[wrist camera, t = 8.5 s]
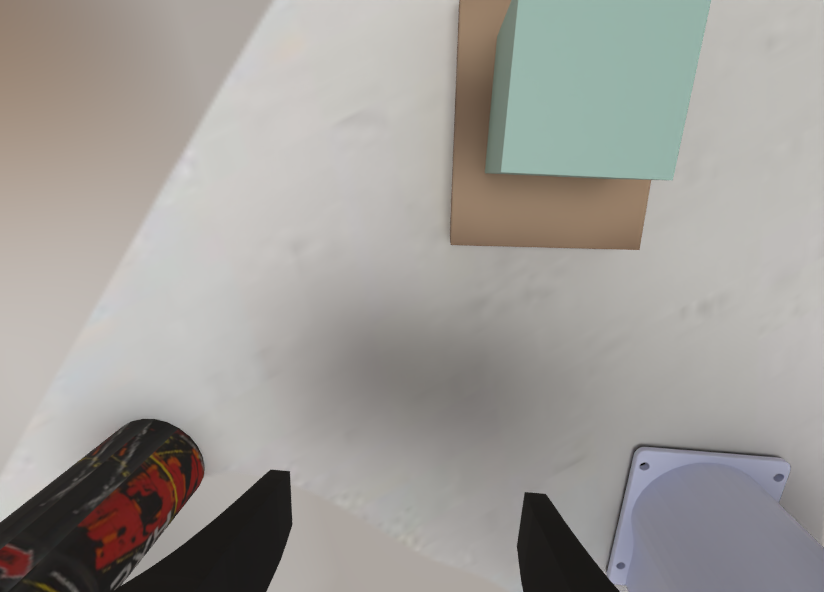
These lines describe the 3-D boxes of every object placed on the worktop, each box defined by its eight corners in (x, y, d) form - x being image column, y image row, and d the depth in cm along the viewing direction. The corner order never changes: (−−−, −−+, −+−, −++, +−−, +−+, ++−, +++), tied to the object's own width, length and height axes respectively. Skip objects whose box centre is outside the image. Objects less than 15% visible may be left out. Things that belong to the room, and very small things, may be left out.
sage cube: (607, 178, 17) (672, 180, 12) (484, 173, 17) (500, 172, 12) (631, 40, 16) (715, -20, 11) (497, 36, 16) (520, -24, 11)
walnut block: (612, 239, 21) (639, 249, 18) (449, 235, 21) (450, 244, 18) (646, 6, 18) (685, -27, 15) (458, 8, 18) (461, -23, 15)
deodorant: (106, 412, 25) (-347, 732, 11) (202, 426, 25) (-129, 771, 10) (116, 493, 27) (-265, 862, 12) (205, 506, 26) (-76, 898, 12)
